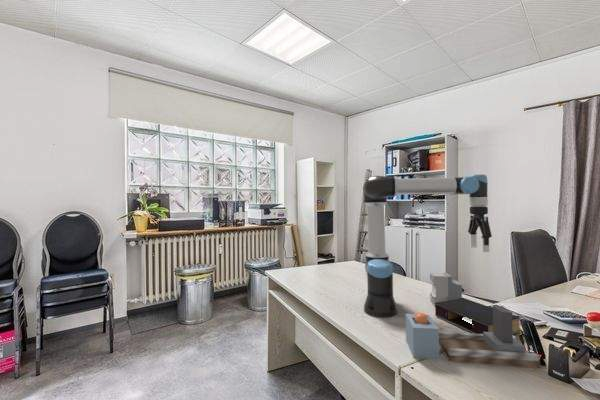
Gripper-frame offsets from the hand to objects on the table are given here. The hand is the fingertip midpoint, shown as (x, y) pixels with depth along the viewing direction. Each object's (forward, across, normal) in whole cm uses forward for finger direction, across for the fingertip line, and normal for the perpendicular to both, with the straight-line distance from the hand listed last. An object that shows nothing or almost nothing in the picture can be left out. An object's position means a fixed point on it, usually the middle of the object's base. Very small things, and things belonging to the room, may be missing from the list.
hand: (479, 249), depth 140 cm
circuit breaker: (+28, 0, +15) cm, 32 cm away
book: (+28, -23, +11) cm, 38 cm away
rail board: (+28, -47, +18) cm, 57 cm away
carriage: (+25, -47, +12) cm, 54 cm away
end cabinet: (+28, -47, +38) cm, 66 cm away
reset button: (+20, -47, +38) cm, 64 cm away
